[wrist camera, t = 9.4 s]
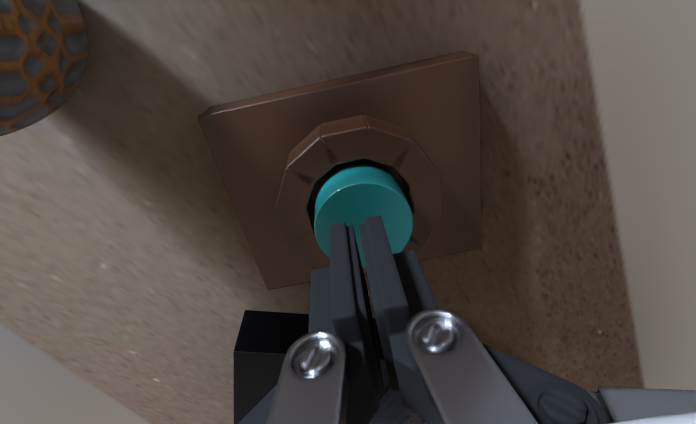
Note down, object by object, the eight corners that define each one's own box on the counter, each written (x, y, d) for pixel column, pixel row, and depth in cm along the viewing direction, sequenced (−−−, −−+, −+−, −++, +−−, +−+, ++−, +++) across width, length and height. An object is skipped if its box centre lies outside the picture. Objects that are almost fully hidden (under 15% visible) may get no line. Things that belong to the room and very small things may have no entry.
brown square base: (463, 50, 15) (501, 58, 12) (470, 230, 19) (498, 271, 16) (208, 106, 15) (179, 129, 12) (271, 270, 19) (261, 316, 16)
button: (397, 155, 13) (407, 173, 12) (408, 233, 15) (418, 258, 13) (305, 174, 13) (302, 194, 12) (326, 250, 15) (326, 276, 14)
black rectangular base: (492, 313, 22) (516, 356, 19) (439, 428, 28) (452, 473, 25) (245, 295, 20) (232, 339, 17) (242, 421, 26) (233, 470, 23)
